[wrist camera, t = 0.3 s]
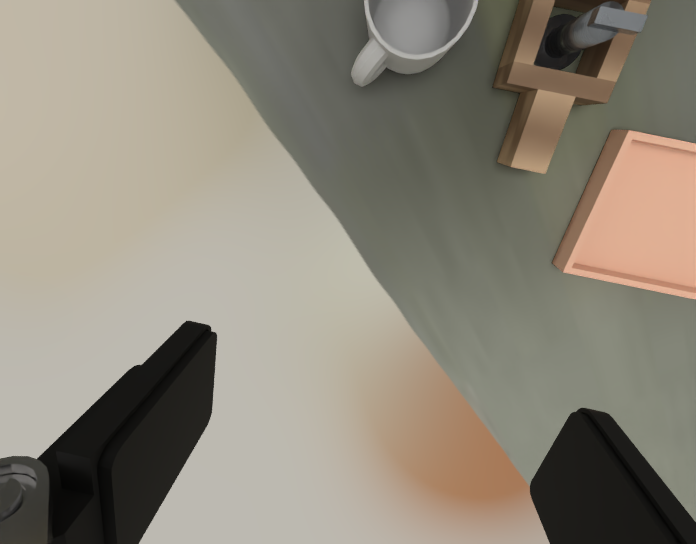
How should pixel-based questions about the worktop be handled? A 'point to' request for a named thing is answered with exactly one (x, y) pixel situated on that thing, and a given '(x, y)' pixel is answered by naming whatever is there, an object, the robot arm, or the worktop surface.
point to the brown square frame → (553, 80)
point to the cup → (409, 35)
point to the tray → (637, 216)
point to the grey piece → (584, 33)
